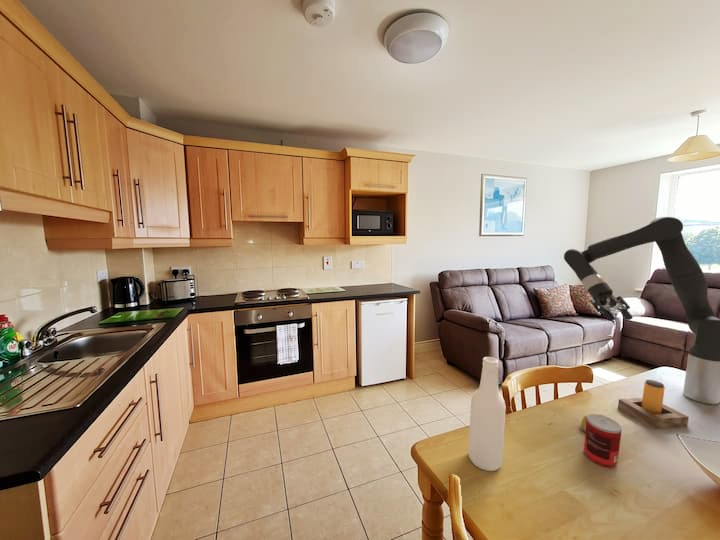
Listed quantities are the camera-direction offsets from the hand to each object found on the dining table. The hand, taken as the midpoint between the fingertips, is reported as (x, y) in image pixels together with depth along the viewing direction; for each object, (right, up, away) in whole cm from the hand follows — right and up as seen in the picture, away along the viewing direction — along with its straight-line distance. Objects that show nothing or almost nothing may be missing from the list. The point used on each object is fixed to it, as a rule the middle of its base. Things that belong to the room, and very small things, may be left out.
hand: (621, 319), depth 117 cm
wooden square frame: (-2, -32, -13) cm, 35 cm away
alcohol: (-70, -34, -34) cm, 85 cm away
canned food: (-36, -35, -33) cm, 60 cm away
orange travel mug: (-2, -32, -13) cm, 35 cm away
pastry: (-28, -34, -22) cm, 49 cm away
